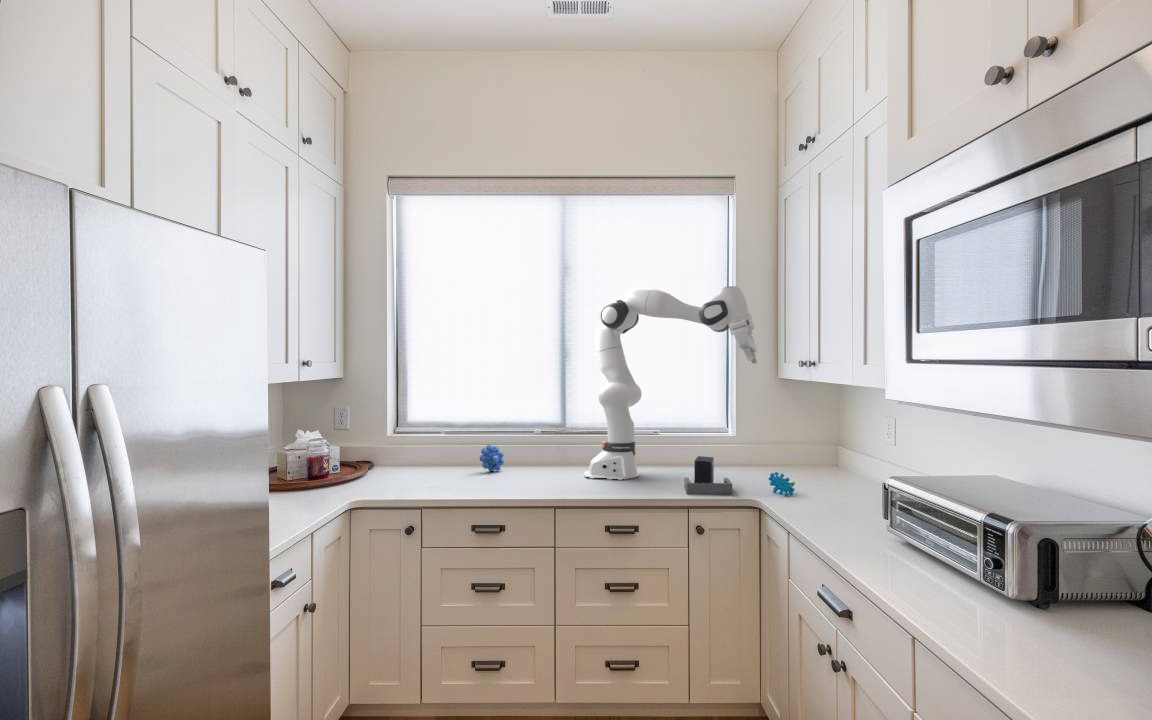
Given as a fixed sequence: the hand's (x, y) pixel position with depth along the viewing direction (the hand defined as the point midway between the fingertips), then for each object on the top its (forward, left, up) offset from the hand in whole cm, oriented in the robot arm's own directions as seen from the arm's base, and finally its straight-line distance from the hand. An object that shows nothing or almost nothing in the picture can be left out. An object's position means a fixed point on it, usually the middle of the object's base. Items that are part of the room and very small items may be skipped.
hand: (752, 361), depth 219 cm
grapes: (-104, +27, -48) cm, 118 cm away
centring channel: (-17, -4, -47) cm, 50 cm away
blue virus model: (+9, -7, -48) cm, 49 cm away
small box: (-17, +6, -48) cm, 51 cm away
